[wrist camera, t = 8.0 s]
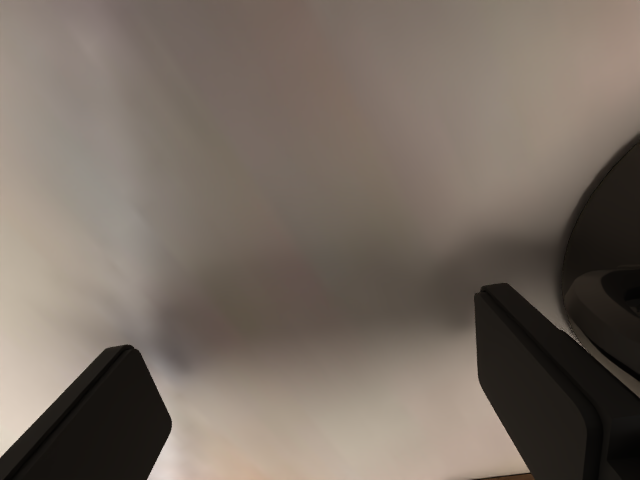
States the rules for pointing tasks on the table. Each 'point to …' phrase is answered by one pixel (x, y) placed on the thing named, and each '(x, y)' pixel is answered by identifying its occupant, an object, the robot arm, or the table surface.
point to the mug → (608, 272)
